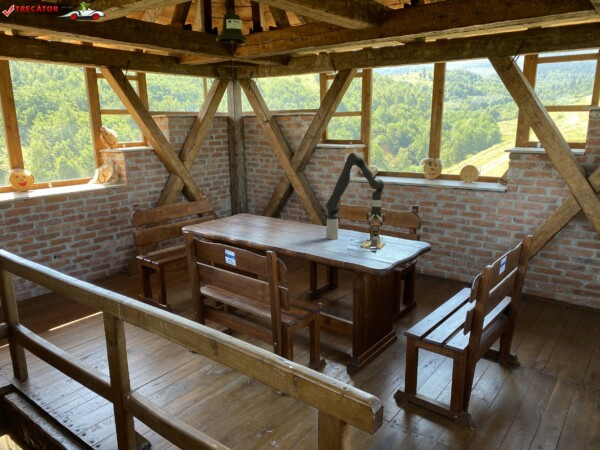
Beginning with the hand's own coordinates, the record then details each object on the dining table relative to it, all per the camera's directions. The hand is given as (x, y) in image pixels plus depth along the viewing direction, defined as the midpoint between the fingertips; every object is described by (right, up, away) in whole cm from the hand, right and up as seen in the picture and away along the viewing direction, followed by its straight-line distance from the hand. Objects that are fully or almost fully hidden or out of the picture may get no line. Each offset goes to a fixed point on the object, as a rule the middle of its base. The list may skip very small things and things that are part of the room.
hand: (375, 226), depth 346 cm
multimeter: (+4, -12, +22) cm, 26 cm away
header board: (-2, -16, +4) cm, 16 cm away
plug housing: (0, -14, +3) cm, 15 cm away
